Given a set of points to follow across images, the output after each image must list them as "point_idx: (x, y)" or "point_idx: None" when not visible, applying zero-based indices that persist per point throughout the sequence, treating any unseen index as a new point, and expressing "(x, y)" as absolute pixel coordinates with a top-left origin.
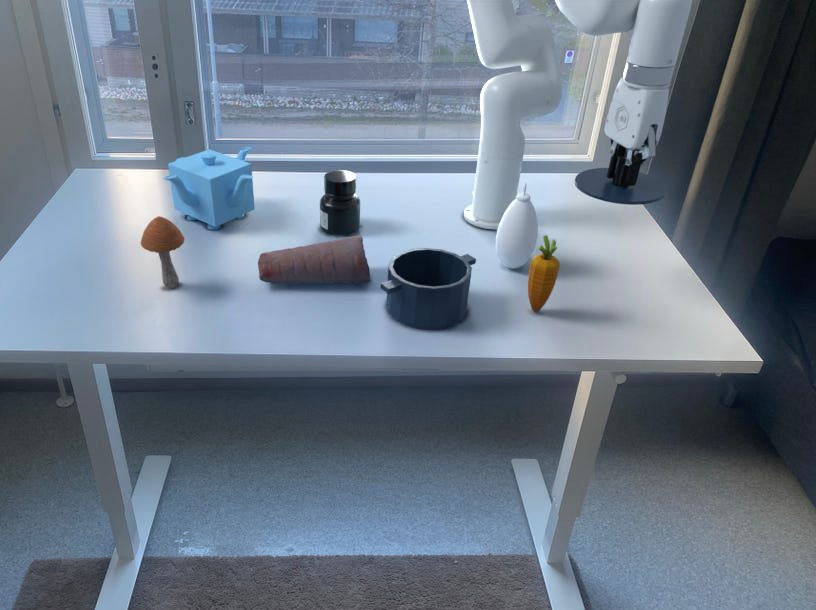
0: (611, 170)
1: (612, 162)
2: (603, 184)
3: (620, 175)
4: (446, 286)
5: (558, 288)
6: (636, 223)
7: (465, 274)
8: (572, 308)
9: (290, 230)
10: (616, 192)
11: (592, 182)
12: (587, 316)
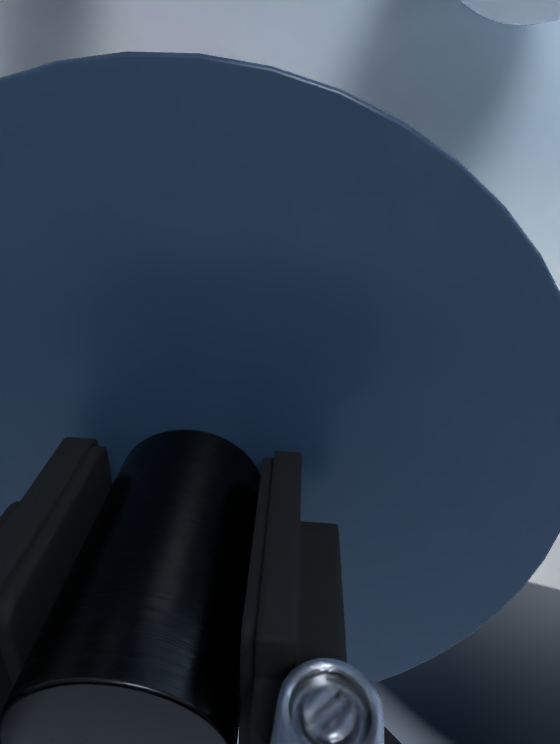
0: (256, 512)
1: (254, 581)
2: (205, 356)
3: (45, 501)
4: None
5: (253, 59)
6: (549, 559)
7: None
8: (99, 30)
9: None
10: (3, 360)
11: (282, 284)
12: (38, 60)
